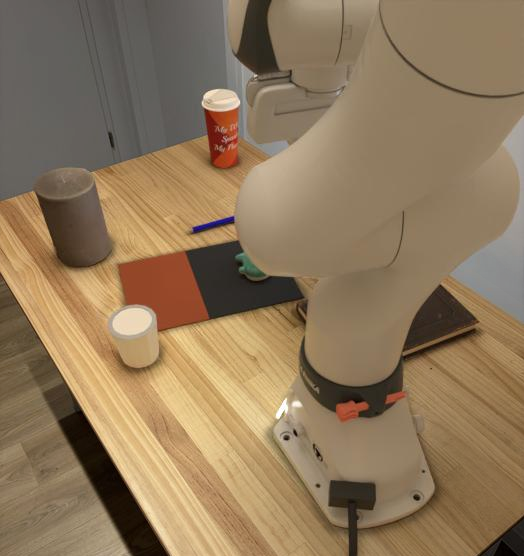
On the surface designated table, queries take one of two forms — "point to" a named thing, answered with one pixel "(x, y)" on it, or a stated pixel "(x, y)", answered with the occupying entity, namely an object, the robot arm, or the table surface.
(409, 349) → the hardcover book
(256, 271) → the whale figurine
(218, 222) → the pencil
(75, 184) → the pillar candle
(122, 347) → the jar candle
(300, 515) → the table surface
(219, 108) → the paper cup
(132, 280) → the mat
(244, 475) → the table surface
